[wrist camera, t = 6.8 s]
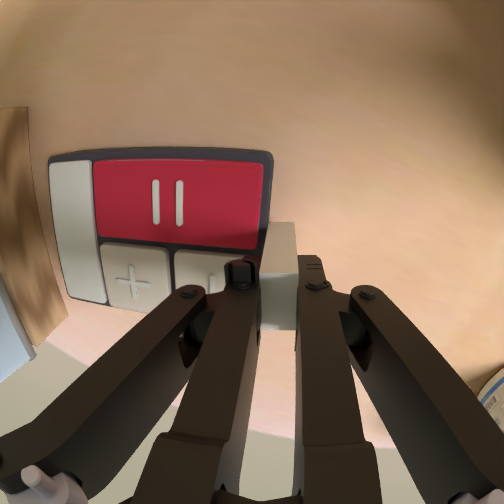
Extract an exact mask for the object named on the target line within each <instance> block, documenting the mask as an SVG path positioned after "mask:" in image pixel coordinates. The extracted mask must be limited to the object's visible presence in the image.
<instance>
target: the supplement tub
mask: <svg viewBox="0 0 504 504" xmlns="http://www.w3.org/2000/svg"><path fill="white" fill-rule="evenodd" d="M477 398H478V400H479V401H480V402H481V404H482V405H483V406H484V407H485V409H486V410H487V411H488V413H489V414H490V415H491V417H492V418H493V419H494V421H495V422H496V423H497V425H498V426H499V427H500V429H501V430H502V432H503V433H504V368H502V369H501V370H500V371H499V372H497V373H496V374H495V375H494V376H493V377H492V378H491V379H490V380H489V381H488V382H487V383H486V385H485V386H484V387H483V388H482V390H481V391H480V393H479V395H478V397H477Z"/></svg>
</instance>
